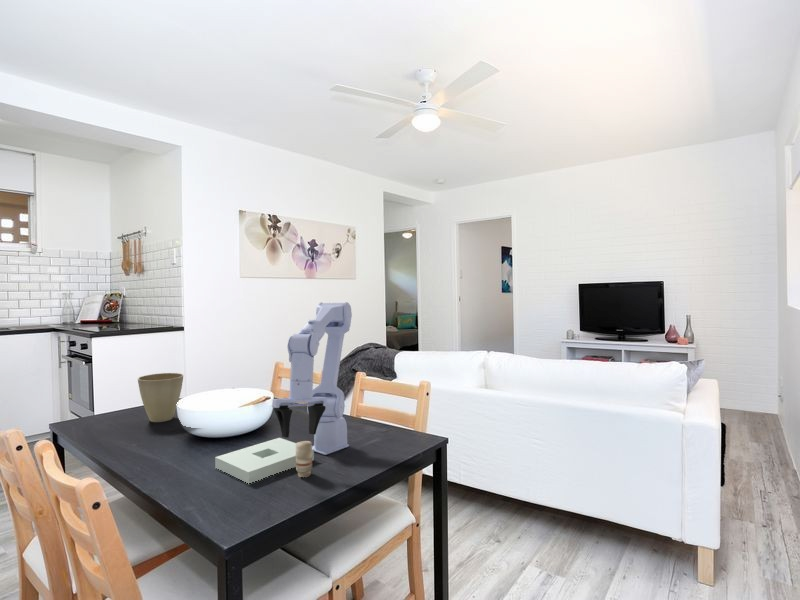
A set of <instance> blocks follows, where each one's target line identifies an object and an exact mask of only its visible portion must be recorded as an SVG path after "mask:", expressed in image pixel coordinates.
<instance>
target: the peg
mask: <svg viewBox="0 0 800 600" xmlns="http://www.w3.org/2000/svg"><path fill="white" fill-rule="evenodd" d="M295 443H296V467H295V471H296V472H297V477H298V478H301V477H303V478H304V477H305V478H308V477H311V475H312V474H311V473H312V472H311V471H312V470H313V461H312V446H313V445H312V444H313V443H312V441H309V440H302V441H297V442H295ZM305 478H304V479H305Z"/></svg>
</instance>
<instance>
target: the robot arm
mask: <svg viewBox="0 0 800 600" xmlns="http://www.w3.org/2000/svg"><path fill="white" fill-rule="evenodd" d="M315 312H316V313H315V318H314V319H309V320H308V321H307V322H306V324H305V325H304V326H303V327H302V328H301V330H300V331H299V332H298V333H294V334H292V335H290V336H289V339H288V340H287V341H288V342H287V352H288V362H289V363H290V377H289V380H290V381H289V394H288V395H289V396H288V397H285V398H274V399H272V405H271V407H272V408H273V410H274V413H275V415H276V418H277V420H278V422H279V427H280V431H281V438H285V439H286V438H289V436H290V426H291V425H290V424H291V423H290V422H291V417H292V413H293V409H291V408H290V407H305V406H306V408H307V410H306V411H307V414H308V434H310V435H313V440H314V441H313V445H312V449H314V453H317V454H320V455H324V456H327V455H329V454H332V453H335V452H338V451H340V450H343V449H345V448H348V447H350V444H348V425H347V421H346V419H345V417H344V416H343V415H344V412H345V407H346V406H345V394H344V391H343V390H342V389H341V388H339V387H338V380H339V379H338V378H339V373H340V364H341V357H342V351H343V344H344V338H345V334H346V333H348V332H350V328H351V323H352V317H353V316H352V315H353V313H352V312H353V311H352V306H351V304H350V303H349V302H348V301H347V302H319V303H318V304H317V306H316V311H315ZM325 334H327V339H326V348H325V353H324V360H323V364H322V366H323V367H322V372H321V377H320V384H318V385H317V386H316V387H313V386H314V361H315V359H314V358H315V356H316V355H317V354H318V350H319V346H320V341H321V339H322V338H323V337H324V336H325Z"/></svg>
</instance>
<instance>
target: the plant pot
mask: <svg viewBox="0 0 800 600" xmlns="http://www.w3.org/2000/svg"><path fill="white" fill-rule="evenodd" d="M183 382H184V374H183V373H178V372H161V373H152V374H145V375H142V376H139V377H137V383H138V389H139V393H140V397H141V401H142V402H141V403H142V404H143V407H144V410H145V412H146V415H147V417H148V420H149V421H150V422H151V423H163V422H168V421H171V420H173V418H174V416H175V413H176V410H177V408H176V404H177V402H178V403H179V400H180V397H181V392H182V387H183ZM177 405H178V404H177Z"/></svg>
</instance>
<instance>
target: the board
mask: <svg viewBox="0 0 800 600" xmlns="http://www.w3.org/2000/svg"><path fill="white" fill-rule="evenodd" d="M296 443H297V442H293V441H290V440H288V439H286V438H285V439H284V438H283V437H276V438H274V439H271V440H267V441H263V442H261V443H257V444H254V445H251V446H246V447H244V448H241V449H237V450H234V451H231V452H228V453H225V454H221V455H218V456H215V457H214V460H215V461H214V463H215V465H214V467H215V469H216V468H217V469H216V470H218V469H219V470H218V471H220V470H222V471H223V472H222V471H221V472H222V473H224V472H226V473H228V474H230V475H232V476H234V477H236V478H238V479H240V480H242V481H244V482H243V483H245V482H246V483H245V484H247V483H248V484H247V485H250V484H249V483H251V484H253V483H252V482H254V483H256V482H255V481H257V482H259V481H262V480H264V479H263V478H265V477H267V478H269V477H268V476H270V475H273V476H275V475H274V474H276V473H278V474H280V473H279V472H281V473H283V472H282V471H284V472H285V470H286V471H288V469H289V470H291V468H292V469H294V468H296ZM313 461H315V451H314V449H312V462H313ZM226 473H225V474H226ZM228 474H227V475H228ZM230 475H229V476H230ZM276 475H277V474H276ZM232 476H231V477H232ZM234 477H233V478H234ZM270 477H271V476H270ZM236 478H235V479H236ZM238 479H237V480H238ZM261 479H262V480H261ZM265 479H266V478H265ZM240 480H239V481H240ZM258 480H259V481H258ZM242 481H241V482H242Z"/></svg>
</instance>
